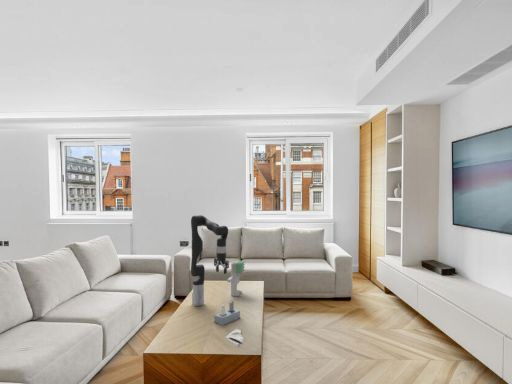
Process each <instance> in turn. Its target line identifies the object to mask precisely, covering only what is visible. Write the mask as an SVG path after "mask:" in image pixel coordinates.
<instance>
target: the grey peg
mask: <svg viewBox="0 0 512 384" xmlns="http://www.w3.org/2000/svg"><path fill="white" fill-rule="evenodd" d="M234 302H235V301H233V300H230V301H229V302H228V303H229V304H228V305H229V306H228V307H229V308H228V309H229V312H231V313H232V312H234V309H235V308H234V307H235V306H234V304H235V303H234Z"/></svg>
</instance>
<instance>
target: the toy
mask: <svg viewBox="0 0 512 384" xmlns="http://www.w3.org/2000/svg"><path fill="white" fill-rule="evenodd" d="M230 265H231V268H230V269H231V273H230V276H229V277H228V278H227V279H226V280H227V283H230V296H231V297H240V294H241V293H243V290H241V289H239V290H238V284H239V283H240V275H241V274H242V273H244V271H245V260H243V261H242V260H235V261H233V262H232V263H231V264H230ZM241 295H242V294H241Z"/></svg>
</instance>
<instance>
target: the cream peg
mask: <svg viewBox="0 0 512 384" xmlns="http://www.w3.org/2000/svg"><path fill="white" fill-rule="evenodd" d="M225 310H226V305H225V304H220V312H221V316H225Z"/></svg>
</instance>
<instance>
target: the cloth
mask: <svg viewBox="0 0 512 384" xmlns="http://www.w3.org/2000/svg"><path fill="white" fill-rule="evenodd" d="M225 338H226V339H227V340H228V341H230V342H231V343H232V344H234V345H235V346H237V347H240V346H239V345H240V343H241V344H243V342H244V337H243V335H242V330H240V329H238V328H236V329H234V330H233V331H230V333H228V335H226V336H225Z"/></svg>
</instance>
